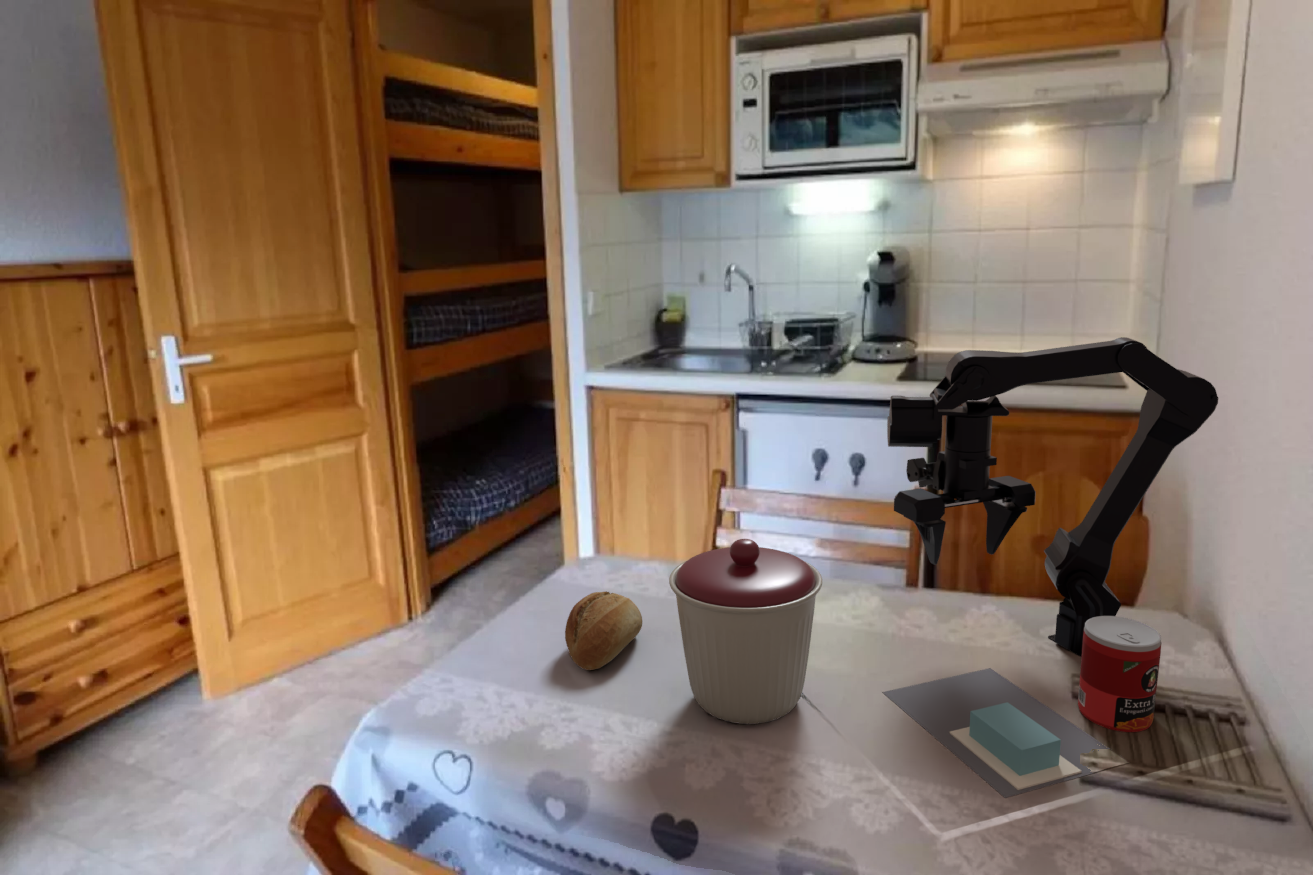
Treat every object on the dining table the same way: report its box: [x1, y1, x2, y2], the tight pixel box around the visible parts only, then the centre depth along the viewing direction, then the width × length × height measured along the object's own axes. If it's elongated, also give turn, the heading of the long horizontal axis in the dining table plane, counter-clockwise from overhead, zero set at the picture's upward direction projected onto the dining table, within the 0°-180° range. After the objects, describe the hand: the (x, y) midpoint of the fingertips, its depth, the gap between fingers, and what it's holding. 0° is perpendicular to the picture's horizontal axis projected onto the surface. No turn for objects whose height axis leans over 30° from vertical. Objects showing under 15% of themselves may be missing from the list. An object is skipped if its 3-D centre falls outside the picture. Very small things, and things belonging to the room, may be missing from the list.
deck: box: [969, 702, 1061, 776], centre depth 93 cm, size 8×5×3 cm, turn 19°
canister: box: [668, 538, 823, 725], centre depth 104 cm, size 18×18×21 cm
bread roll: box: [564, 591, 643, 671], centre depth 120 cm, size 10×15×8 cm, turn 161°
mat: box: [882, 667, 1123, 799], centre depth 99 cm, size 16×22×1 cm
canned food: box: [1077, 615, 1162, 733], centre depth 99 cm, size 8×8×11 cm
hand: (962, 558), depth 118 cm, fingers open, 9 cm apart
